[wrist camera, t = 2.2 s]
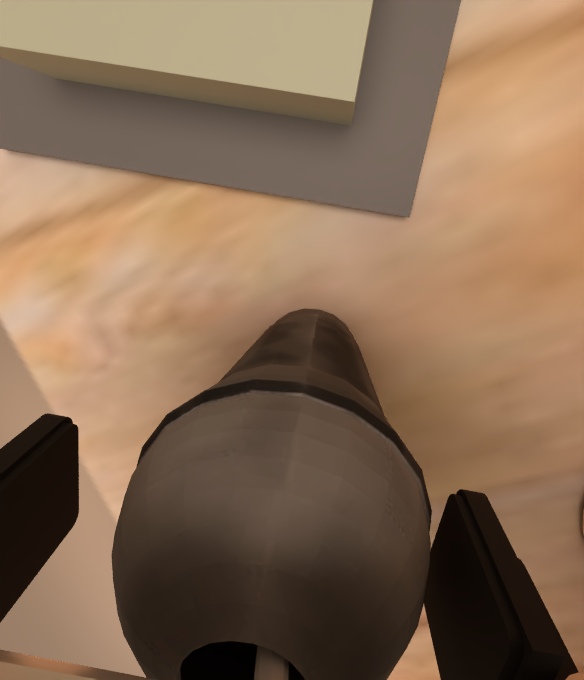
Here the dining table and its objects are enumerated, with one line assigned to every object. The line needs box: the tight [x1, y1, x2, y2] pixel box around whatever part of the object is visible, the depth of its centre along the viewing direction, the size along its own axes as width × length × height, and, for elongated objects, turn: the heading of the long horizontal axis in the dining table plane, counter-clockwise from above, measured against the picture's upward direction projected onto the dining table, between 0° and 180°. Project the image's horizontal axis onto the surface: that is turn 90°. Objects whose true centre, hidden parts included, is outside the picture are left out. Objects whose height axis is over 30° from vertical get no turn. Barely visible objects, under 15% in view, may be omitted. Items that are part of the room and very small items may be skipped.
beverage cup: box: [112, 309, 432, 680], centre depth 12 cm, size 7×7×20 cm
